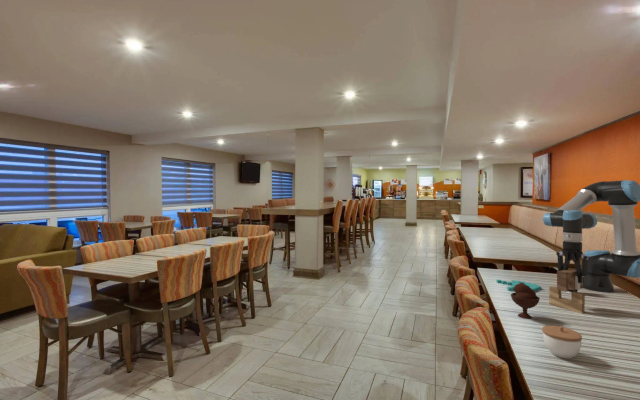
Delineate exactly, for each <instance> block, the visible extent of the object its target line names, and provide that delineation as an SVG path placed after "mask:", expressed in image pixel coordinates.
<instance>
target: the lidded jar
mask: <svg viewBox="0 0 640 400" xmlns="http://www.w3.org/2000/svg"><path fill="white" fill-rule="evenodd" d="M541 329H542V339H543V343H544V345H545V347H546V348H547V349H548V350H549V351H550V353H551V354H552V355H554V356H556V357H558V358H562V359H567V360H568V359H573V357H575V356H577V355H578V354H579V352H580V351H581V348H582V339H583V336H582V335H581V334H580V332H578V331H576V330H574V329H571V328H569V327H568V328H567V327H564V326H561V325H560V326H557V325H545V326H542V328H541Z"/></svg>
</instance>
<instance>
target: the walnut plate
mask: <svg viewBox="0 0 640 400" xmlns="http://www.w3.org/2000/svg"><path fill="white" fill-rule="evenodd" d="M576 275H577V272H576V268H570V269H569V268H568V270H562V271H558V270H557V271H556V287H557V290H561V292H562V291H563V292H565V293H567V291H569V289H570V290H576V289H575V276H576ZM581 289H584V288H583V277H582V283H580V289H579V290H581Z"/></svg>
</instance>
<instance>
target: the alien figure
mask: <svg viewBox="0 0 640 400" xmlns="http://www.w3.org/2000/svg"><path fill="white" fill-rule="evenodd" d="M495 281H496V284H502V285H507V287H506V288H507V289H506V290H507V291H508V292H514V287H515V285H517V284H525V285H527V286H528V287H529V288H531V289H533V290H534V291H535V292H536V293H537V292H538V291H540V290H541V291H542V286H541V285H539V284H538V283H537V284H536V283H531V282H525V281H521V280H514V279H513V280H511V281H507V280H501V279H496V280H495Z"/></svg>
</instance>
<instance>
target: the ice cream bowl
mask: <svg viewBox="0 0 640 400" xmlns="http://www.w3.org/2000/svg"><path fill="white" fill-rule="evenodd" d="M510 298H511V299H512V301H513V302H514V304H516V305H517V306H518V307H519V308H521V309H522V312H520V313H518V314H517V317H519V318H521V319H526V320H532V319H533V316H532V315H531V314H529V313H528V309H533V308H534V307H536V306H537V305H539V303H540V297H539V296H537V292H535V291H534V290H533V289H531V288H529V287H528V286H527V285H525V284H517V285H515V287H514V290H513V292H512V293H510Z"/></svg>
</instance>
